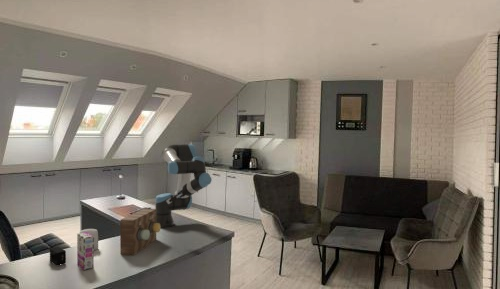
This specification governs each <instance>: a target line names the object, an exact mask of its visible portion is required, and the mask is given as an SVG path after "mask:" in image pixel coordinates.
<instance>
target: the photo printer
mask: <svg viewBox="0 0 500 289" xmlns="http://www.w3.org/2000/svg"><path fill="white" fill-rule="evenodd" d="M84 232H87V233H89V234H90V235H92V236H94V251H95V250H96V251H97V250H99V232H98V229H95V228H85V229H82V230H80V231H79V233H84Z"/></svg>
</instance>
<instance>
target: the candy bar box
mask: <svg viewBox="0 0 500 289" xmlns="http://www.w3.org/2000/svg"><path fill="white" fill-rule="evenodd" d="M76 235H77V237H76V238H77V240H76V241H77V245H76V248H77V249H76V251H77V252H76V254H77V260H76V261H77V264H76V265H78V266H79V267H80V268H81V269H82V270H83V271H87V270H91V269H94V268H95V267H94V251H95V250H94V236H92V235H90V234H89V233H87V232H84V233H80V232H79V233H76Z"/></svg>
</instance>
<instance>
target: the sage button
mask: <svg viewBox="0 0 500 289" xmlns="http://www.w3.org/2000/svg"><path fill="white" fill-rule="evenodd" d="M149 236H150V231H149V230H142V231H141V234H140V238H141V239H143V240H148V238H149Z"/></svg>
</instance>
